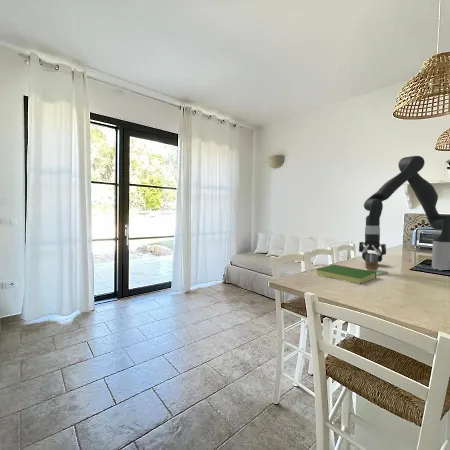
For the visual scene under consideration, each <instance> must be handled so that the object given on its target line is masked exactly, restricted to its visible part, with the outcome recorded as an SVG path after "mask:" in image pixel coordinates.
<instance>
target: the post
mask: <svg viewBox="0 0 450 450" xmlns="http://www.w3.org/2000/svg"><path fill="white" fill-rule="evenodd" d="M374 254H375V253H372V254H370V262H374ZM360 269H362V270H367V271H373V272H376V277H377V276H380V275H384V274H388V270H383V269H379V268H378V269H377V270H371V269H366V268H365V267H362V268H360Z"/></svg>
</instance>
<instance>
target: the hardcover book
mask: <svg viewBox="0 0 450 450" xmlns="http://www.w3.org/2000/svg"><path fill="white" fill-rule="evenodd" d="M315 270H316V275H317V274H319V275H318V276H320V275H323V276H322V277H325V276H327V277H326V278H329V277H332V278H331V279H334V278H336V279H335V280H338V279H341V280H340V281H343V280H346V281H345V282H347V281H350V282H349V283H352V282H355V283H354V284H356V283H359V284H358V285H361V284H364V283H366V282H365V281H367V282H369V281H371V279H372V280H374V279H377V276H376V272H373V271H367V270H362V269H361V268H354V267H349V266H345V265H340V264H339V265H338V264H331V265H327V266H323V267H319V268H316V269H315ZM368 280H369V281H368ZM363 282H364V283H363ZM360 283H361V284H360Z"/></svg>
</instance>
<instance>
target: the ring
mask: <svg viewBox="0 0 450 450" xmlns="http://www.w3.org/2000/svg"><path fill="white" fill-rule="evenodd" d="M364 263H365V264H364V265H365V266H364V268H366V269H371V270H377V269H379V262H376V261H374V262H370V261H364Z"/></svg>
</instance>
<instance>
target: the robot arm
mask: <svg viewBox="0 0 450 450" xmlns="http://www.w3.org/2000/svg"><path fill="white" fill-rule="evenodd" d="M425 163H426V162H425V159H424V157H422V156H421V155H411V156H405V157H402V158H400V159H399V160H398V169H399V171H400V172H399V173H398V174H396V175H395V176H394V177H392V178H391V179H389V180H387V181H386V182H385V183H383V185H382V186H381V187H380V188H379V189H378V190H377V191H376V192H375V193H374V194H372V195H370V196H369V197H368V198H367V199H366V200H365V201H364V203H363V208H364V209H365V211H367V212H368V213H369V214H368V215H367V216H365V228H364V241H360V242H359V244H358V252H359V253H361V254H362V255H361V258H362V259H363V261H364V260H365V259H366V252H368V251H372V252H373V251H374V252H375V253H376V254H378V263H381V262H383V256H384V255H386V254H387V244H386V243H381V241H380V240H381V238H380V237H381V227H380V226H381V225H380V223H381V222H380V220H381V216H382V213H383V207H384V206H383V204H384V203H383V202H384V201H386V200H388V199H390V198H391V196H393V194H394V193H395V192H396V191H397V190H398V189H399V188H400V187H401V186H403V185H404V184H405V183H406V182H408V184H409V185H410V187H411V189H412V190H413V193H414V195H415V196H416V198H417V201H418V202H419V203H420V205H421V207H422V210H423V211H424V213H425V216H426V218H427V221H428V224H429V226H431V228H432V229H433V230H437V231H439V230H440V231H441V233H439V234H437V235H434V236H433V237H432V250H431V252H432V253H431V255H432V256H431V269H432V268H433V269H432V270H435V269H438V270H437V271H442V270H450V214H440V213H439V212H438V210H437V202H438V200H439V195H438V193H437V191H436V189H435V188H434V186H433V184H431V183H430V182H429V181H428V180H426V179H424V178H423V177H422V176H421V174H420V173H419V172H420V171H421V170H422V169H423V168H424V166H425ZM363 246H365V248H364V250H363ZM380 248H381V249H380Z"/></svg>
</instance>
